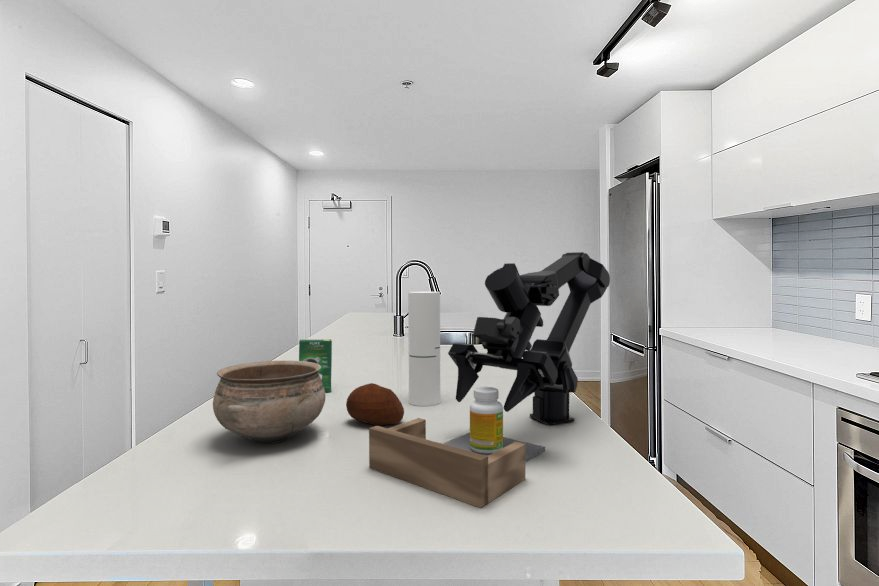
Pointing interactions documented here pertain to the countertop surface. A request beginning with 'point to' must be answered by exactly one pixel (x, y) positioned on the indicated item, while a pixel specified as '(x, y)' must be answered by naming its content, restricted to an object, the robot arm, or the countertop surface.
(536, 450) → the mat
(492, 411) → the supplement bottle
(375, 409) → the potato
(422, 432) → the brown walled open frame
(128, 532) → the countertop surface
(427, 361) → the cylindrical container
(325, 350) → the coffee box
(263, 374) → the cooking pot
